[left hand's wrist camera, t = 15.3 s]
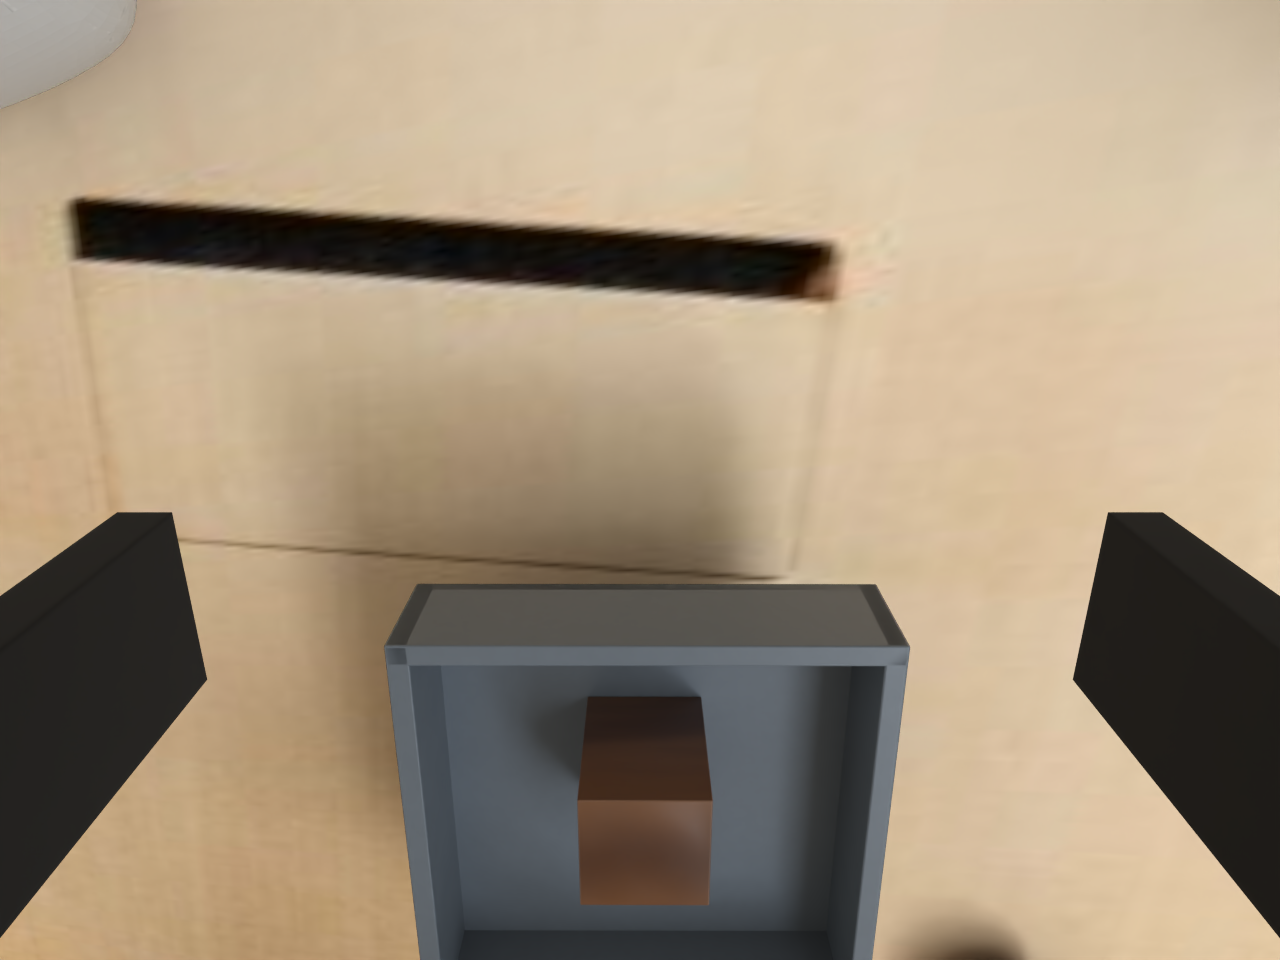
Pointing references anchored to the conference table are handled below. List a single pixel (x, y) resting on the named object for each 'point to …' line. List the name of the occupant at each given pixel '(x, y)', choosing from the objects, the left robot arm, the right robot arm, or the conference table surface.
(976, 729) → the conference table surface
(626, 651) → the tray
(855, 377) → the conference table surface
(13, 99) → the projector
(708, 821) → the block
